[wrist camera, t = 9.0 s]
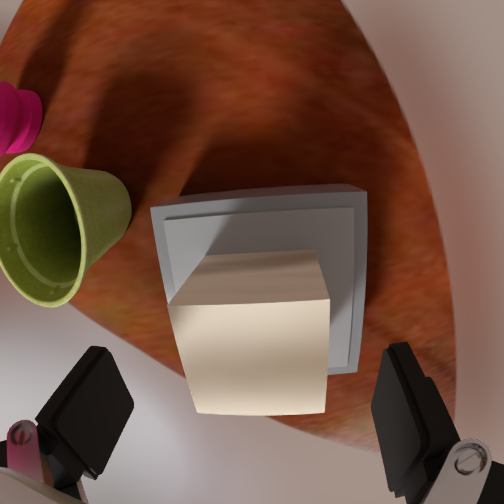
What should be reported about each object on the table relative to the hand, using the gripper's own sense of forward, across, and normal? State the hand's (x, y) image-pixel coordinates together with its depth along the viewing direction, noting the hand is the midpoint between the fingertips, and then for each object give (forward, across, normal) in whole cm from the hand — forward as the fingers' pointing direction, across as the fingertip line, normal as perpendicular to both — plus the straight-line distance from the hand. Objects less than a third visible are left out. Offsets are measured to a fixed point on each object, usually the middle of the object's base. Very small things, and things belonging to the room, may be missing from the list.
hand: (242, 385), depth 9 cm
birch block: (+8, 0, +1) cm, 8 cm away
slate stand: (+13, 0, +2) cm, 13 cm away
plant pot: (+14, +13, -4) cm, 19 cm away
